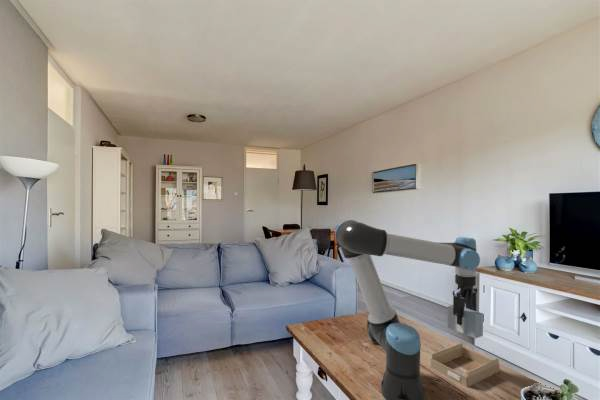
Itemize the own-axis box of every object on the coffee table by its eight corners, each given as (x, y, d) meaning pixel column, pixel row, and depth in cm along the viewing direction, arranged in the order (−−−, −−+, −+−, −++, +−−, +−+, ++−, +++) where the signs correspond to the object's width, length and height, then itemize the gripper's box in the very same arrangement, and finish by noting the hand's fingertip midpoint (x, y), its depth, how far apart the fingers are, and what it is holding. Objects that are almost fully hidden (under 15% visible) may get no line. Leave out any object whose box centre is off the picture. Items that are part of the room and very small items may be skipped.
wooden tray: (466, 388, 113) (466, 372, 113) (430, 368, 127) (430, 354, 127) (499, 372, 124) (499, 358, 124) (462, 355, 138) (462, 342, 138)
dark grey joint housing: (391, 344, 148) (392, 324, 148) (370, 343, 148) (370, 323, 148) (384, 330, 164) (384, 312, 164) (365, 330, 164) (365, 311, 164)
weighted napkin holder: (475, 338, 119) (475, 315, 119) (447, 327, 129) (447, 306, 129) (482, 335, 121) (483, 313, 121) (454, 324, 132) (455, 304, 132)
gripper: (460, 279, 118) (460, 339, 118) (487, 274, 127) (486, 329, 127) (443, 275, 124) (442, 331, 124) (469, 270, 133) (468, 323, 133)
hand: (464, 330), depth 125 cm, fingers closed on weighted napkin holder, 5 cm apart
